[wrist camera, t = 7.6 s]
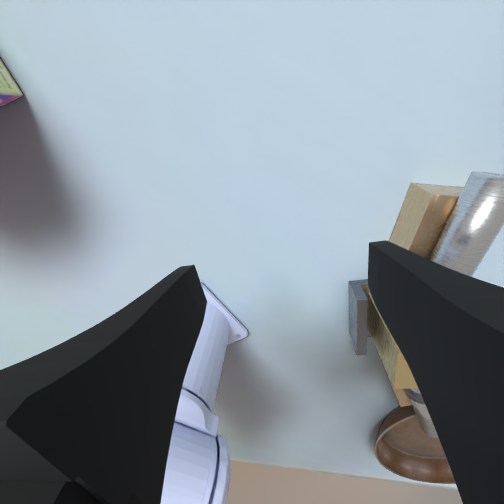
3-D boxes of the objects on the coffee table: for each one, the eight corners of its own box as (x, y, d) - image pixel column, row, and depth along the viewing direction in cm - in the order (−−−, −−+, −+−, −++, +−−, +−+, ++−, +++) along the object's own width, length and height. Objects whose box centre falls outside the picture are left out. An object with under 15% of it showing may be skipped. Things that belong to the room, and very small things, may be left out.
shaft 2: (435, 266, 21) (484, 314, 16) (381, 261, 21) (413, 306, 16) (486, 166, 17) (573, 188, 12) (419, 160, 17) (477, 180, 12)
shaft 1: (376, 343, 25) (399, 398, 21) (423, 332, 24) (460, 387, 19) (392, 389, 29) (416, 445, 24) (434, 381, 27) (468, 439, 23)
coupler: (412, 331, 23) (451, 393, 18) (367, 334, 24) (393, 395, 19) (419, 282, 21) (468, 339, 16) (369, 287, 22) (399, 344, 16)
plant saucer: (348, 444, 36) (353, 471, 33) (405, 367, 27) (419, 395, 25) (468, 466, 36) (483, 494, 33) (563, 396, 27) (594, 427, 25)
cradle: (427, 327, 24) (442, 350, 22) (349, 333, 25) (356, 355, 23) (437, 272, 21) (456, 291, 19) (348, 281, 22) (357, 300, 20)
